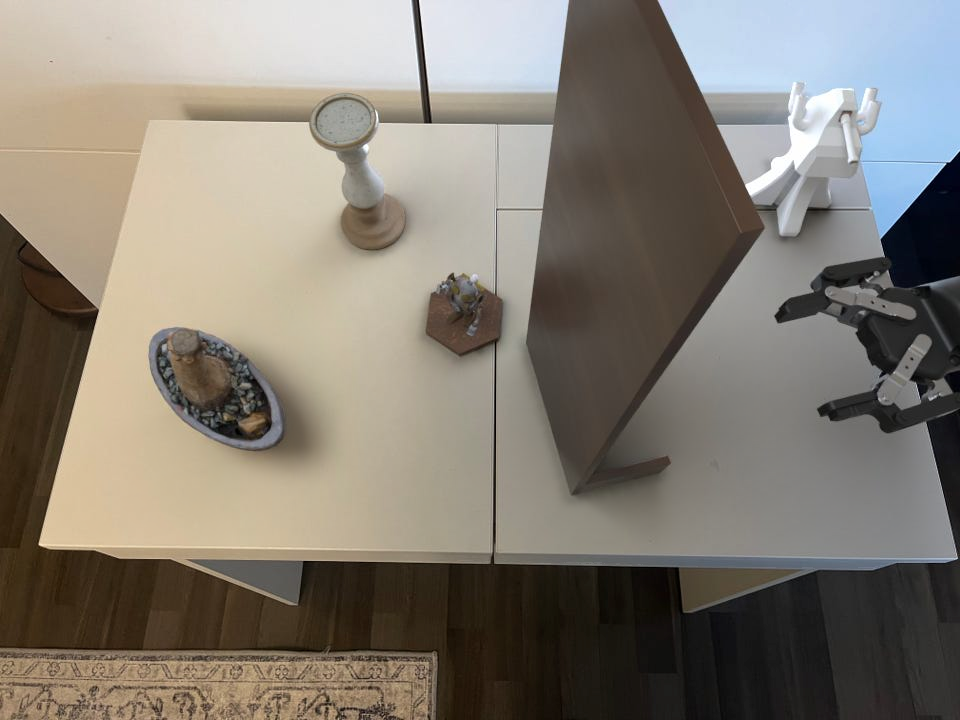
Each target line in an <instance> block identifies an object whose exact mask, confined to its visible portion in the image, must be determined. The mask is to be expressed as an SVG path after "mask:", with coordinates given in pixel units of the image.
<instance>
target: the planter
mask: <svg viewBox="0 0 960 720" xmlns="http://www.w3.org/2000/svg"><path fill="white" fill-rule="evenodd" d="M147 355H148V362H149V363H148V364H149V371H150V374H151V377H152V380H153V382H154V383H155V385H156V387H157V390H158V391H159V393H160V395H161V396H162V398H163V399H164V401H165V402H166V403H167V405H168V406H169V407H170V408H171V410H172V411H173V412H174V414H175V415H177V417H179V418H180V419H181V421H183V422H184V423H185V424H187V425H188V426H189V427H190V428H192V429H194V430H195V431H197V432H199V433H201V434H202V435H204V436H205V437H207V438H208V439H211V440H213V441H214V442H216V443H219V444H221V445H224V446H227V447H230V448H232V449H237V450H241V451H247V452H265V451H269V450H271V449H274V448H275V447H277V446H278V445H280V444H281V443H282V441H283V440H284V438H285V436H286V432H287V419H286V414H285V410H284V407H283V404H282V402H281V399H280V398H279V396H278V394H277V393H276V390H274V388H273V386H272V385H271V383H270V382H269V380H268V379H267V378H266V376H265V375H264V373H262V371H261V370H260V369H259V368H258V367H257V365H256V364H255V363H254V362H253V361H252V360H250V358H248V356H246V355H245V354H244V353H243V352H241V351H240V350H239V349H236V348H235V347H234V346H233V345H231V344H230V343H229V342H227V341H226V340H224V339H222V338H220V337H217V336H215V335H214V334H211V333H206V332H204V331H202V330H200V329H195V328H188V327H184V326H183V327H179V326H175V327H168V328H163V329H160V330H159V331H158V332H156V333H155V334H154V335H152V337H151V339H150V341H149V345H148V354H147Z"/></svg>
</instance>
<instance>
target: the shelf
mask: <svg viewBox="0 0 960 720" xmlns="http://www.w3.org/2000/svg"><path fill="white" fill-rule="evenodd" d="M560 59H561V60H560V69H559V76H558V84H557V91H556V100H555V108H554V115H553V125H552V131H551V139H550V147H549V153H548V154H549V155H548V163H547V171H546V179H545V188H544V195H543V204H542V211H541V219H540V227H539V234H538V241H537V242H538V244H537V251H536V260H535V265H534V266H535V267H534V274H533V283H532V290H531V297H530V299H531V300H530V306H529V314H528V321H527V331H526V339H525V344H526V348H527V350H528V354H529V357H530V361H531V364H532V368H533V372H534V375H535V378H536V381H537V386H538V388H539V391H540V396H541V398H542V399H541V400H542V402H543V405H544V406H543V407H544V409H545V413H546V416H547V419H548V422H549V426H550V429H551V433H552V436H553V440H554V443H555V446H556V450H557V453H558V457H559V460H560V464H561V467H562V470H563V474H564V477H565V481H566V483H567V488H568V492H569V494H570V496H573V495H577V494H581V493H586V492H589V491H593V490H597V489H601V488H605V487H609V486H613V485H617V484H621V483H626V482H630V481H634V480H637V479H641V478H645V477H649V476H654V475H656V474H657V475H658V474H661V473H662V472H663V471H664V470H666V468H668V467H669V466H670V465H671V464H672V462H671V459H670V456H669V455H668V454H667V455H662V456H658V457H655V458H651V459H647V460H643V461H639V462H634V463H631V464H630V463H629V464H626V465H623V466H618V467H614V468H610V469H606V470H603V471H598V472H595V471H596V470H597V468H598V466H599V465H600V464H601V462H603V460H604V458H605V457H606V456H607V454H608V452H609V450H611V448H612V447H613V446H614V444H615V442H616V441H617V439H618V438H619V437H620V435H621V434H622V433H623V431H624V429H625V428H627V425H628V424H629V422H630V421H631V419H632V418H633V417H634V416H635V414H636V413H637V411H638V409H640V407H641V406H642V404H643V402H644V401H645V400H646V398H647V397H648V395H649V394H650V393H651V391H652V390H653V388H654V387H655V385H656V384H657V383H658V381H659V380H660V378H661V377H662V375H663V374H664V373H665V371H666V370H667V368H668V367H669V366H670V365H671V363H672V361H673V360H674V358H675V357H676V356H677V355H678V353H679V351H680V350H681V349H682V347H683V346H684V344H685V343H686V342H687V340H688V339H689V337H690V336H691V334H692V333H693V331H694V330H695V328H696V327H697V326H698V324H699V323H700V321H701V320H702V318H703V317H704V316H705V314H706V313H707V312H708V310H709V309H710V307H711V306H712V305H713V303H714V302H715V301H716V299H717V297H718V296H719V295H720V293H721V291H722V290H723V289H724V287H725V286H726V284H727V283H728V282H729V280H730V279H731V277H732V276H733V275H734V273H735V272H736V270H737V269H738V267H739V266H740V265H741V264H742V262H743V260H744V259H745V257H746V256H747V255H748V253H749V252H750V250H751V249H752V248H753V246H754V245H755V244H756V242H757V241H758V239H759V238H760V237H761V235H762V234H763V232H764V230H765V229H766V226H765V224H764V222H763V220H762V217H761V215H760V213H759V211H758V208H757V207H756V205H754V203H753V201H752V199H751V196H750V194H749V192H748V190H747V188H746V186H745V185H746V184H745V181H744V180H743V177H742V175H741V172H740V171H739V169H738V167H737V164H736V163H735V161H734V159H733V156H732V155H731V152H730V150H729V148H728V145H727V143H726V141H725V139H724V137H723V136H722V135H723V134H722V133H721V131H720V128H719V127H718V125H717V122H716V121H715V118H714V116H713V114H712V112H711V110H710V108H709V105H708V103H707V102H706V99H705V97H704V95H703V93H702V91H701V88H700V86H699V84H698V82H697V80H696V78H695V76H694V74H693V72H692V70H691V69H692V68H691V67H690V65H689V63H688V61H687V59H686V56H685V54H684V52H683V50H682V48H681V46H680V44H679V42H678V40H677V38H676V36H675V34H674V32H673V29H672V27H671V25H670V23H669V20H668V19H667V17H666V14H665V12H664V10H663V8H662V6H661V4H660V2H659V0H568V4H567V12H566V20H565V27H564V36H563V44H562V53H561V58H560ZM594 472H595V473H594Z"/></svg>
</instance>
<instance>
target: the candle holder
mask: <svg viewBox="0 0 960 720" xmlns="http://www.w3.org/2000/svg"><path fill="white" fill-rule="evenodd" d="M308 121H309V122H308V128H309V132H310V135H311V136H312V139H313V140H314V141H315V143H317V144H318V145H319V146H320V147H322V148H323V149H326V150H328V151H331V152H335V155H336V157H337V159H338V160H339V161H340V162H342V163H343V164H344V169H345V170H344V174H343V176H342V181H341V192H342V195H343V197H344V200H345V201H346V202H347V204H346V206H345V207H344V208H343V211H342V213H341V216H340V227H341V230H342V234H343V235H344V236H345V238H346V240H347V241H348V242H349V243H351V245H354V246H355V247H358V248H360V249H364V250H371V251H372V250H380V249H383V248H386V247H388V246H390V245H392V244H393V243H394V242H396V241H397V240H398V239H399V238H400V236H401V235H402V234H403V232H404V229H405V225H406V215H405V211H404V208H403V205H401V203H400V202H399V201H398V200H397V199H396V198H395V197H393V196H392V195H390V194H388V193H385V192H386V184H385V180H384V178H383V177H382V175H381V173H380V172H379V171H378V170H376V169H375V168H374V167H373V166H371V165H370V162H369V160H368V155H369V152H370V148H369V144H368V143H370V142H371V141H372V139H373V138H374V137H375V135H376V134H377V132H378V128H379V124H380V119H379V114H378V111H377V109H376V107H375V106H374V104H373V103H372V102H371V101H370V100H369V99H368V98H366V97H364V96H362V95H360V94H356V93H352V92H351V93H350V92H340V93H336V94H332V95H330V96H327V97H325V98H324V99H322V100H321V101H319V102H318V103H317V104H316V105H315V107H314V108H313V109H312V111H311V114H310V117H309V120H308Z"/></svg>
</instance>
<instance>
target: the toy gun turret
mask: <svg viewBox="0 0 960 720" xmlns="http://www.w3.org/2000/svg"><path fill="white" fill-rule="evenodd" d="M805 86H806V82H793V85H792V89H791V93H790V97H789V101H788V112H789V114H790V115H789V116H788V118H787V119H788V126H789V134H790V141H791V147H790V149H789V151H788V152H787V153H786V154H785V155H784V156H781V157H775V158H773V159H772V161H771V163H770V165H771V166H770V167H771V169H770V170H768V171H767V172H766V173H764V174H762V176H760V177H758V178H756V179H754V180H752V181H751V182H749V183H746V184H745V186H746V188H747V190H748V192H749V194H750V196H751V199H752V201H753V203H754V205H755V206H756V205H757V206H772V207H773V208H774V209H776V216H777V224H778V231H779V233H778V234H779V236H780V237H794V238H796V237H797V236H798V235H799V233H800V232H801V230H802V226H803V222H804V220H805V216H806V214H807V210H808V208H821V209H822V208H823V209H827V208H828V207H830V205H831V204H832V195H831V190H830V187H829V181H830V179H831V178H832V179H852V177H853V176H854V175H856V174H857V172H858V168H859V164H860V159H861V156H862V152H863V147H864V146H863V141H862V137H864V136H866V135H869V133H871V132H872V131H873V130H874V128H875V127H876V125H877V122H878V118H879V115H880V112H881V111H880V110H881V108H882V107H881V106H882V103H883V101H877V99H876V98H877V96H878V92H879V88H878V87H866V89H865V93H864V96H863V100H862V104H861V107H860V110H859V107H858V102H857V95H856V91H855V88H832V89H831V90H829V92H828V91H827V92H825V93H822V94H819V95H815V96H812V97H811V98H810V99H809V100H808V98H809V96H807V95H803V93H804V90H805ZM861 122H863V124H859V123H861Z"/></svg>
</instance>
